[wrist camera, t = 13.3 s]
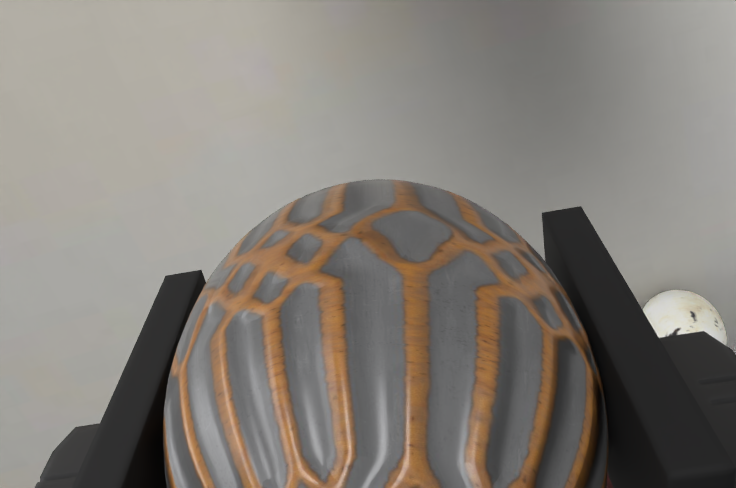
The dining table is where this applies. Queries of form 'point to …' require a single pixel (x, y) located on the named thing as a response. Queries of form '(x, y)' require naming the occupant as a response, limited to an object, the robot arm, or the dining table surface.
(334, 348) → the vase
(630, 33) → the dining table surface
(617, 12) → the dining table surface
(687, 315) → the egg
